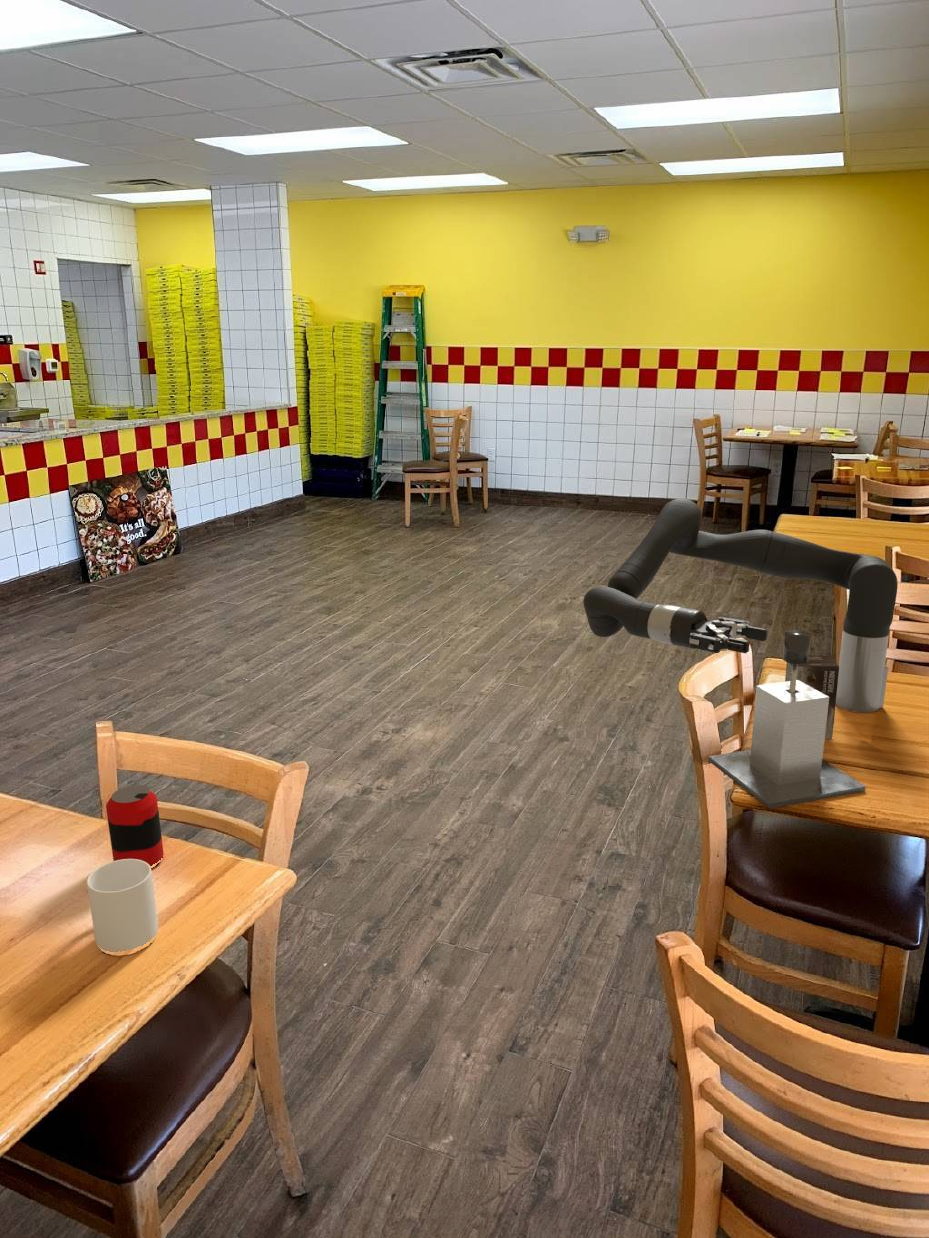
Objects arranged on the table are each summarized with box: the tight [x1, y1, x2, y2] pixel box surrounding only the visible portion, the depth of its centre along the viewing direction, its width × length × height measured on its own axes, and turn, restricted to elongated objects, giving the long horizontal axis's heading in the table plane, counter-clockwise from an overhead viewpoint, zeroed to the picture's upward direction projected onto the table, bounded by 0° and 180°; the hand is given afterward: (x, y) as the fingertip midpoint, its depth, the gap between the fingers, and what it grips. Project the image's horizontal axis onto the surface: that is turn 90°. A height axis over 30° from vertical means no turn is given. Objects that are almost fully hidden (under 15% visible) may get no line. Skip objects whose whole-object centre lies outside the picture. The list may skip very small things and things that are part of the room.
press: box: [707, 680, 867, 809], centre depth 172 cm, size 20×20×17 cm
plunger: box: [782, 629, 812, 694], centre depth 169 cm, size 6×6×22 cm
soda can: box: [105, 785, 165, 866], centre depth 146 cm, size 8×8×12 cm
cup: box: [86, 859, 159, 952], centre depth 129 cm, size 8×12×10 cm
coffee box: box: [784, 655, 839, 740], centre depth 190 cm, size 9×6×16 cm
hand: (757, 641), depth 170 cm, fingers open, 8 cm apart
